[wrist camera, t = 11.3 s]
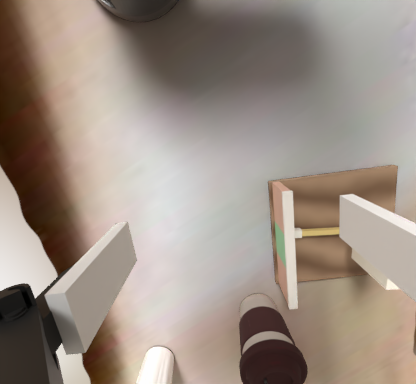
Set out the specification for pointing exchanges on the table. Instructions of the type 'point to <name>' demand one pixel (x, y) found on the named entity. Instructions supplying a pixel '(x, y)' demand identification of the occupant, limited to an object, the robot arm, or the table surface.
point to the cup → (157, 367)
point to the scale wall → (285, 242)
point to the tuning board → (330, 217)
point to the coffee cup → (267, 345)
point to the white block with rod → (355, 256)
